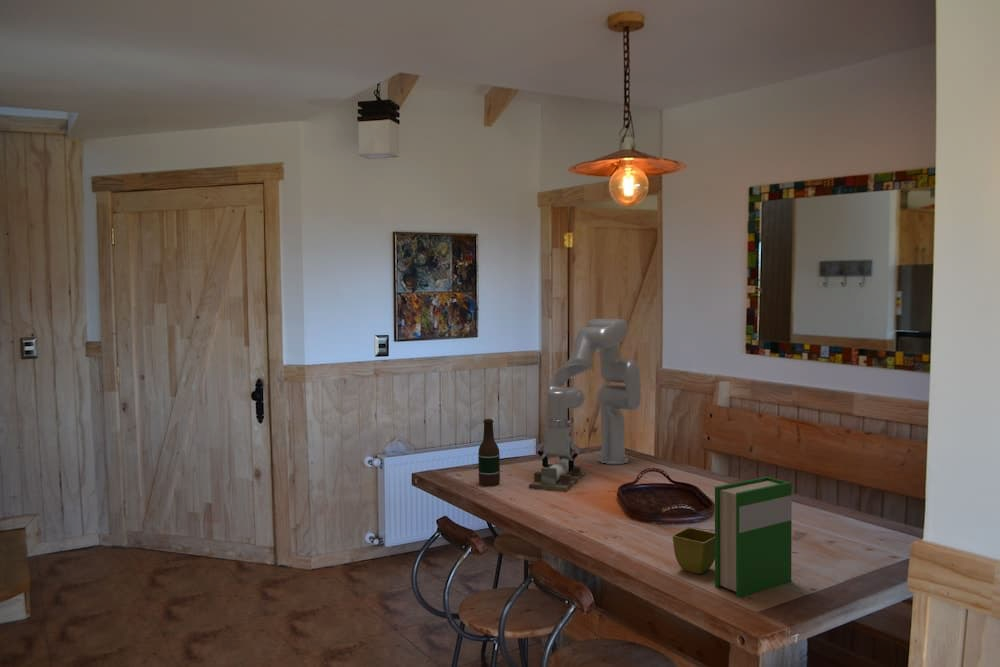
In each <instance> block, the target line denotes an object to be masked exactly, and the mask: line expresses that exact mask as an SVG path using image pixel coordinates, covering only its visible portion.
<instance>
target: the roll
mask: <svg viewBox="0 0 1000 667" xmlns="http://www.w3.org/2000/svg"><path fill="white" fill-rule="evenodd" d="M568 461H569V460H568V459H565V458H563V459H561V460H560V459H559V460H558V461H556V462H554V464H553V463H552V464H553V465H552V466H550V467H549V468H556V473H557V481H558V480H559V479H560V478H561V475H562V474H567V473H568V472H570V471H569V470H568Z"/></svg>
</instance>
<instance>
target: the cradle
mask: <svg viewBox="0 0 1000 667" xmlns="http://www.w3.org/2000/svg"><path fill="white" fill-rule="evenodd" d="M563 458H565V459H568V460H569V458H568V457H567V455H559V460H561V459H563ZM552 465H553V463H552V464H551V463H548V467H543V466H542V467H541V470H540V471H535V472H534V473H533V481H532V482H530V483H529V484H528V489H529V488H534V489H533V490H538V489H545V490H544V491H549V490H553V491H552V492H561V491H564V492H563V493H567V492H568V491H569V490H570V489H572V488H573V487H574V486H575V485H576V484H578V483H579V482H580V481H581V480H582V479H583V478H582V477H584V476H585V475H586V476H587V471H582V466H580V465H579V466H578V465H574V469H573V470H572V471H570V472H568V473H567V474H562V475H561V478H560V479H559V480H558V481H557V473H556V468H549V467H550V466H552ZM586 476H585V477H586ZM585 477H584V478H585ZM581 478H582V479H581ZM580 479H581V480H580ZM579 480H580V481H579ZM578 481H579V482H578ZM577 482H578V483H577ZM574 484H575V485H574ZM573 485H574V486H573ZM572 486H573V487H572ZM571 487H572V488H571ZM566 491H567V492H566Z"/></svg>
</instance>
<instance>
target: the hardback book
mask: <svg viewBox="0 0 1000 667" xmlns="http://www.w3.org/2000/svg"><path fill="white" fill-rule="evenodd" d="M792 485H793V484H792V482H790V481H786V480H783V479H778V478H773V477H771V476H763V477H757V478H753V479H749V480H743V481H737V482H732V483H728V484H722V485H719V486H714V533H715V560H714V587H715V588H716V589H721V588H726V589H728V590H730V591H732V592H735V596H736V597H737V598H739V599H740V598H744V597H746V596H750V595H753V594H756V593H759V592H762V591H766V590H768V589H773V588H775V587H779V586H783V585H785V584H789V583H792V529H793V528H792V523H793V522H792V516H793V514H792V508H793V507H792V501H793V500H792V494H793V493H792V490H793V489H792Z"/></svg>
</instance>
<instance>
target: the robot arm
mask: <svg viewBox="0 0 1000 667" xmlns="http://www.w3.org/2000/svg"><path fill="white" fill-rule="evenodd" d="M628 334H629V325H628V323H627V322H626V320H624V319H622V318H621V319H620V318H593V319H589V320H588V321H587V322H586V326H585V327H582V328H580V329H579V331H578V332H577V334H576V337H575V341H574V343H573V346H572V350H571V353H570V356H569V359H568V360H567V361H566V363H564V364H563V365H562V366H560V367H559V369H557V371H556V372H555V373H554V374H552V377H551V379H550V382H549V386H548V389H547V393H546V417H547V418H546V420H547V421H546V424H547V426H546V427H545V429H544V430H545V431H544V435H543V442H540V443H538V444H537V445H535V447H534V448H535V450H536V452H537V454H538V456H540V458H541V459H542V460H541V461H542V464H541V465H542V468H543V467H548V464H549V458H548V455H555V456H556V455H557V456H558V455H559V456H560V455H567V457H568V458H569V461H568V470H569V471H572V470H573V469H574V466H575V460H576V458H578V456H579V454H580V453H581V450H582V448H581V447H579V446H578V445H576V444H574V443H573V437H572V429H571V427H570V426H571V425H572V421H570V420H569V417H568V416H569V415H568V409H576V408H579V407H581V406H582V405H583V404H584V402H585V394H584V391H582V389H580V388H577V387H569V386H564V385H565V383H566V382H567V381H568V380H569V379H571V378H572V377H574V376H577V375H579V374H581V373H583V372H586V371H587V370H589V369H590V367H591V366H592V362H593V359H594V356H595V353H596V350H599V361H600V376H601V378H602V379H603V380H604V381H605V382H608V383H619V385H618V384H607V385H606V384H605V385H603V386H601V387H600V388H599V391H598V393H597V394H598V396H597V398H598V403H599V409H600V410H599V411H600V434H601V435H600V436H601V437H600V439H601V440H600V442H601V443H600V444H601V445H600V446H601V452H600V454H601V456H599V457H598V458H597V462H598V461H599V462H598V463H600V462H601V463H600V464H603V463H606V464H605V465H622V464H623V465H624V463H625V464H628V463H629V460H630V459H629V458H628V457H626V454H625V452H626V451H625V450H626V449H625V448H626V447H625V445H626V442H625V438H626V437H625V436H626V434H625V429H626V428H625V424H626V423H625V417H624V414H623V413H622V410H627V411H635V410H636V409H638V408H639V407H640V405H641V402H642V391H641V390H642V389H641V388H642V387H641V370H640V367H639V364H638V363H637V362H636V361H635V360H632V359H623V358H622V353H621V352H622V351H621V350H622V349H621V346H620V343H622V341H624V340H625V339H626V338H627V336H628ZM603 380H602V381H603ZM620 383H621V384H624V385H620ZM542 447H543V449H542ZM542 450H543V451H542ZM573 450H575V452H574V453H573Z"/></svg>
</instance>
